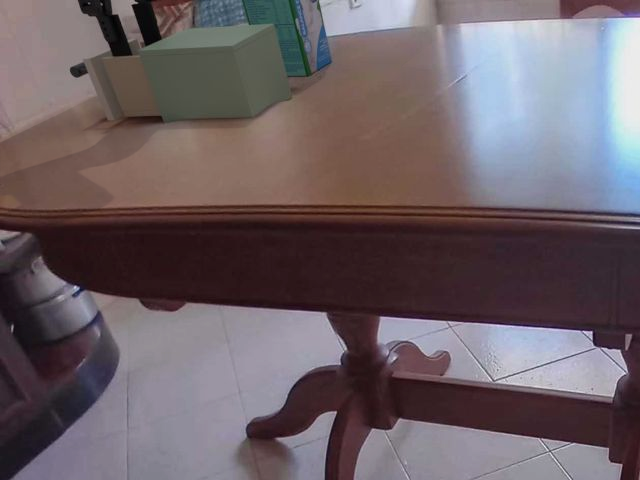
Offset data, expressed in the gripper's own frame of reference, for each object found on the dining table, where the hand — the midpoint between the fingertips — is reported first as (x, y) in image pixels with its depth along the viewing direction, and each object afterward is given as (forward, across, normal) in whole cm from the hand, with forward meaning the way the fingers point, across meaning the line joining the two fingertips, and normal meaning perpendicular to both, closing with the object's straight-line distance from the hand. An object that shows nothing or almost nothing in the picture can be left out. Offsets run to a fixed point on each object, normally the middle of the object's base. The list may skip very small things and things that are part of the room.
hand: (141, 57), depth 103 cm
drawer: (+7, 0, +1) cm, 7 cm away
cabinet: (+8, 0, -12) cm, 15 cm away
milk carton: (+8, +22, -13) cm, 27 cm away
